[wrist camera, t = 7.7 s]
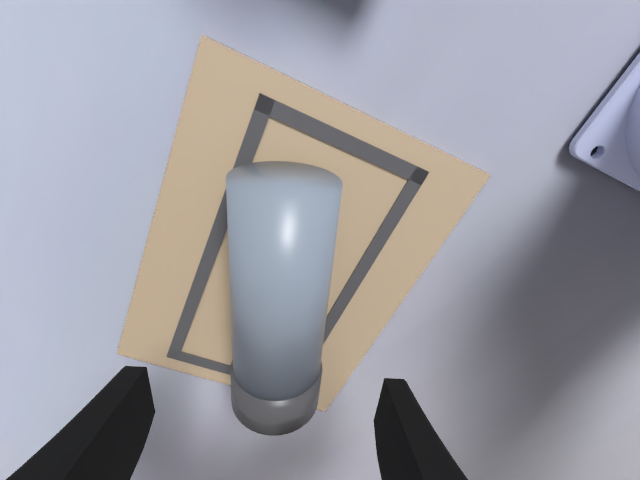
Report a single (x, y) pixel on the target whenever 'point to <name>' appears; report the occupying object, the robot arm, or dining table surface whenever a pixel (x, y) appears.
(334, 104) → the tan rectangular board
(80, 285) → the dining table surface
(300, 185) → the squeeze tube
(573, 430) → the dining table surface
